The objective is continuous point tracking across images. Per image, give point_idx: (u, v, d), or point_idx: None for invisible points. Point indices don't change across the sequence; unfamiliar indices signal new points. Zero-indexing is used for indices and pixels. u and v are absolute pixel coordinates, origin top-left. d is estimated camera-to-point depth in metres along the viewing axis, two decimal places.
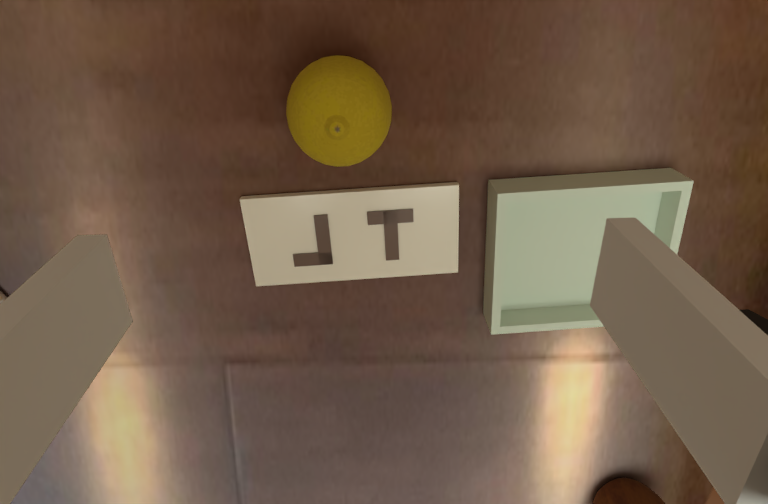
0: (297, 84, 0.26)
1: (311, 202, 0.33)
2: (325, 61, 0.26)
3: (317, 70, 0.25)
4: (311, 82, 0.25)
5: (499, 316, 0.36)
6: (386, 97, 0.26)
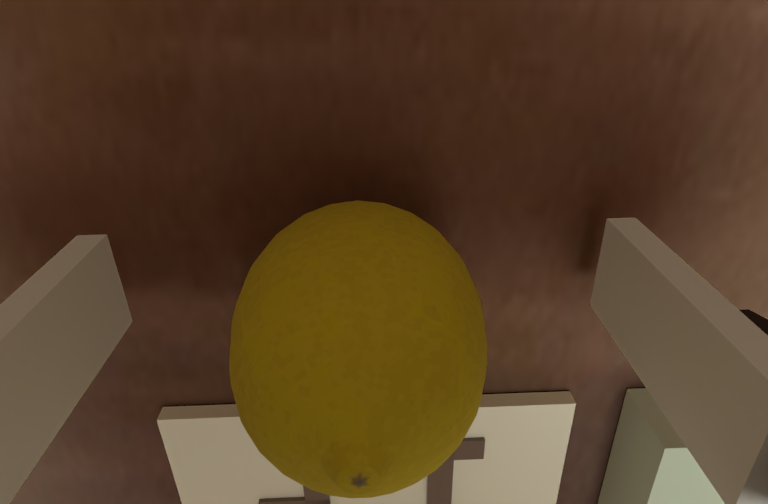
0: (254, 307, 0.10)
1: None
2: (330, 245, 0.10)
3: (307, 282, 0.09)
4: (289, 325, 0.09)
5: None
6: (482, 332, 0.10)
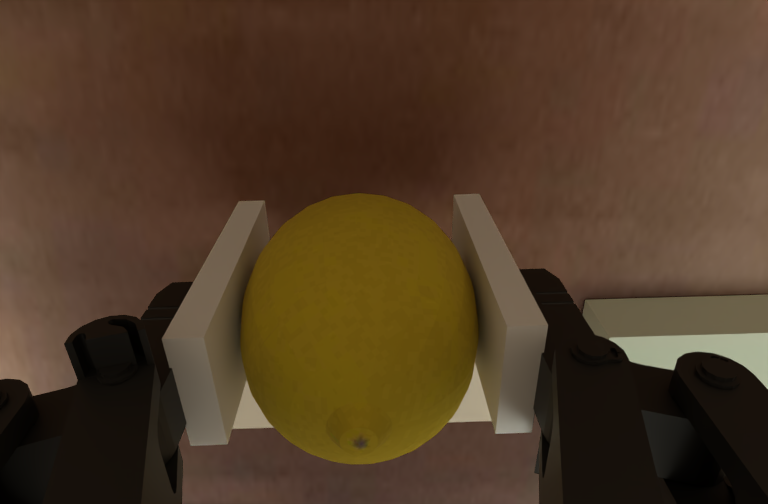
0: (264, 288, 0.10)
1: None
2: (334, 232, 0.11)
3: (313, 265, 0.10)
4: (296, 304, 0.10)
5: None
6: (474, 313, 0.11)
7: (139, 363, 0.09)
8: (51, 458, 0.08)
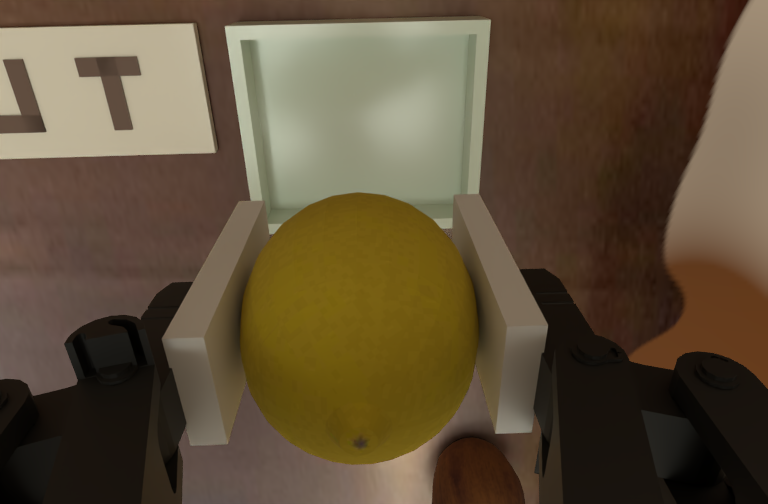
0: (263, 287, 0.10)
1: None
2: (334, 231, 0.11)
3: (312, 264, 0.10)
4: (296, 303, 0.10)
5: None
6: (474, 312, 0.11)
7: (139, 363, 0.09)
8: (51, 457, 0.08)
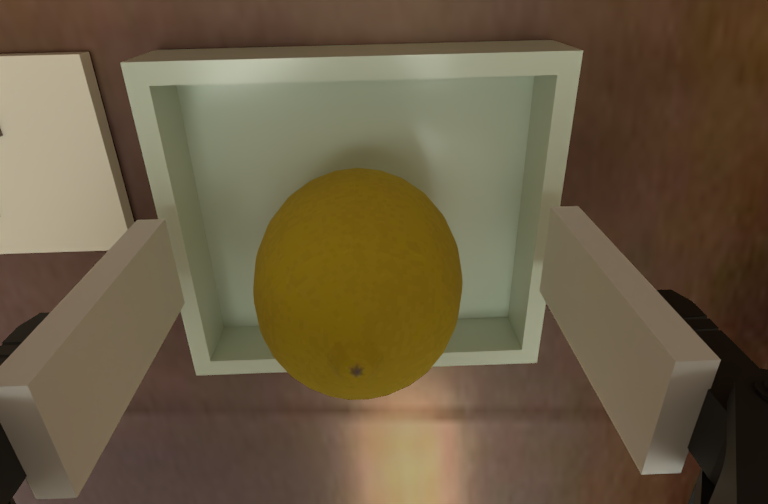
0: (274, 245, 0.12)
1: None
2: (335, 197, 0.12)
3: (317, 223, 0.12)
4: (302, 255, 0.11)
5: (203, 341, 0.18)
6: (457, 269, 0.13)
7: None
8: None
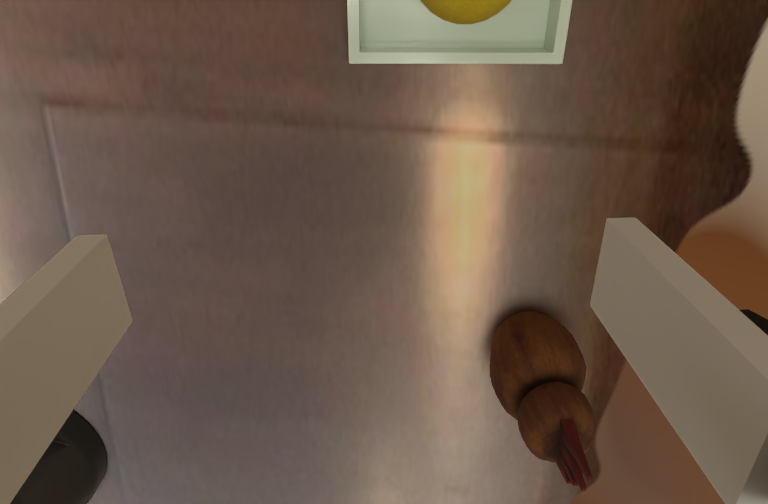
0: None
1: None
2: None
3: None
4: None
5: (357, 35, 0.29)
6: None
7: None
8: None
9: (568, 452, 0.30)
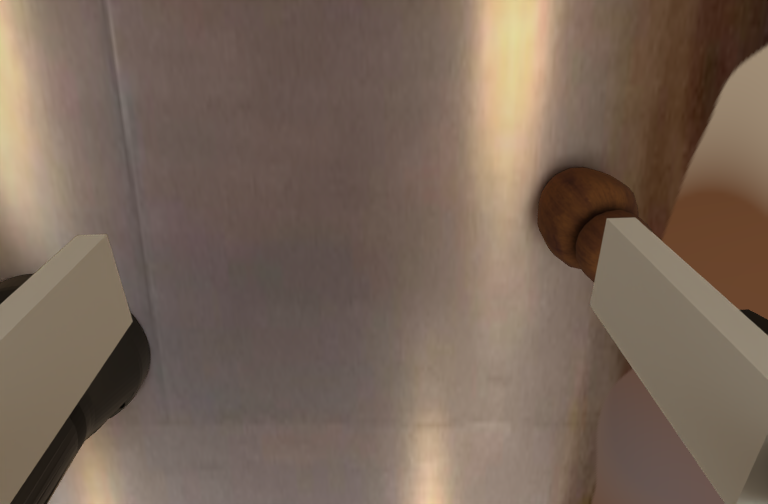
0: None
1: None
2: None
3: None
4: None
5: None
6: None
7: None
8: None
9: None
